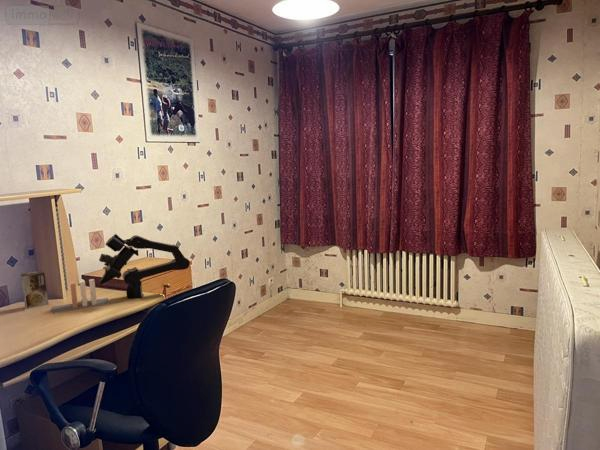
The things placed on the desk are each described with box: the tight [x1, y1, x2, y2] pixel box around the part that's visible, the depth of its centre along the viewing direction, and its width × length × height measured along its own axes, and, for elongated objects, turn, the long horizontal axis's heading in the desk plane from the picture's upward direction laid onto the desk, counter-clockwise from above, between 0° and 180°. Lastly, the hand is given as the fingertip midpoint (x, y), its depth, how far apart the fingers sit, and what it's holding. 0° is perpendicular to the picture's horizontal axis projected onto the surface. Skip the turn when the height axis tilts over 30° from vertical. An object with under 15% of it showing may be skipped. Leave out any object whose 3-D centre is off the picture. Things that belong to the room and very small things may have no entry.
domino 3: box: [88, 278, 98, 305], centre depth 208 cm, size 2×5×11 cm, turn 29°
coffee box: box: [20, 270, 50, 310], centre depth 208 cm, size 9×6×16 cm
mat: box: [51, 297, 111, 314], centre depth 207 cm, size 24×11×1 cm, turn 119°
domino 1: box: [69, 281, 78, 308], centre depth 205 cm, size 2×5×11 cm, turn 29°
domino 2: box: [79, 279, 88, 306], centre depth 207 cm, size 2×5×11 cm, turn 29°
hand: (100, 283), depth 210 cm, fingers closed
